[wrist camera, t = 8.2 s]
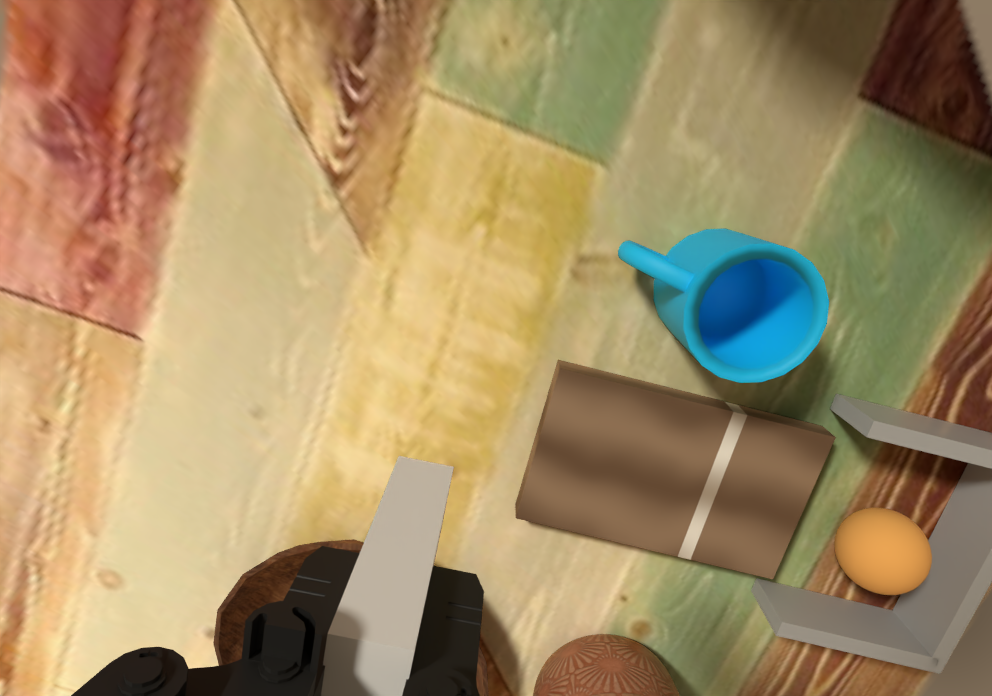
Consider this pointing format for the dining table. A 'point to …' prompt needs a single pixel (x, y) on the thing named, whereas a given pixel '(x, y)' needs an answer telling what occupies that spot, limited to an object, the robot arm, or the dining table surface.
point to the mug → (736, 301)
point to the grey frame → (954, 546)
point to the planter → (604, 670)
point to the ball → (883, 551)
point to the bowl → (272, 586)
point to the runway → (670, 470)
